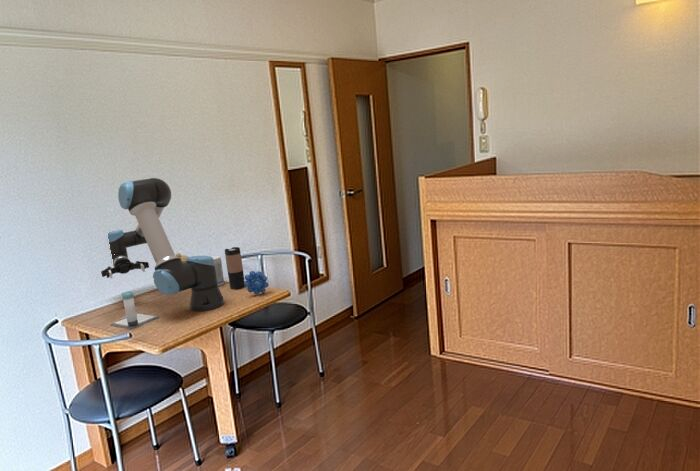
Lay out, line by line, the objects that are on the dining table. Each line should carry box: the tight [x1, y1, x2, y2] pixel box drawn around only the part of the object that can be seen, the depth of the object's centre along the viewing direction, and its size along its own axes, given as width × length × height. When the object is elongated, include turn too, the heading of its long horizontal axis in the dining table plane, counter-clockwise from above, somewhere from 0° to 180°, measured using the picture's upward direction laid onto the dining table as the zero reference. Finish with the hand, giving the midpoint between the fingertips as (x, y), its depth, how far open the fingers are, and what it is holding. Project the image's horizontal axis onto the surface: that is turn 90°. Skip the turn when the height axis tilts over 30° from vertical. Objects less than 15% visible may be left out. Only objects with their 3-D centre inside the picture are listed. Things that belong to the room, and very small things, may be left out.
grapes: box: [244, 270, 269, 296], centre depth 247 cm, size 12×7×12 cm, turn 116°
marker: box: [121, 290, 138, 326], centre depth 220 cm, size 4×4×14 cm
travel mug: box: [224, 246, 246, 291], centre depth 263 cm, size 8×8×20 cm
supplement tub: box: [209, 255, 225, 287], centre depth 272 cm, size 10×10×15 cm
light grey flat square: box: [110, 312, 160, 330], centre depth 228 cm, size 14×14×1 cm
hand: (127, 272), depth 234 cm, fingers open, 13 cm apart
